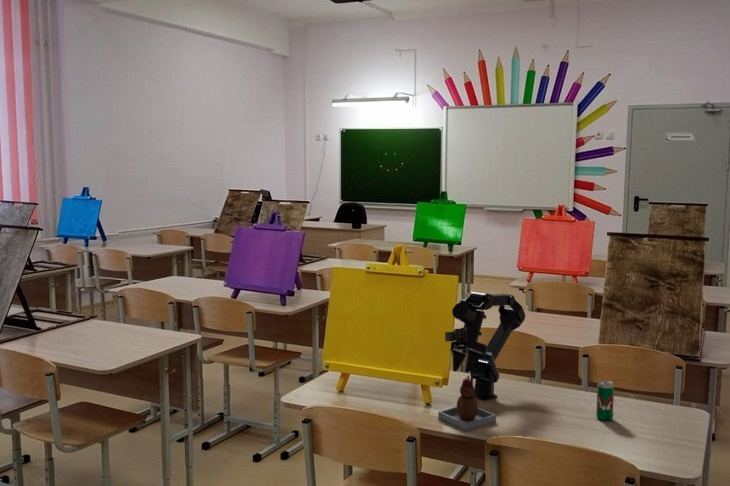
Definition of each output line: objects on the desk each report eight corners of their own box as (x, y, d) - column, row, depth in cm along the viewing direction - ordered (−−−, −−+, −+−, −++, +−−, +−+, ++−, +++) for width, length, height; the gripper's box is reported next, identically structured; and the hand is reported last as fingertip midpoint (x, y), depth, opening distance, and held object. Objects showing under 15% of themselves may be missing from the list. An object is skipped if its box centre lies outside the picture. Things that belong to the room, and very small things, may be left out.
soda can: (612, 416, 219) (614, 381, 218) (613, 422, 215) (614, 386, 213) (596, 415, 221) (597, 379, 220) (596, 420, 216) (597, 384, 215)
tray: (467, 410, 226) (467, 403, 226) (496, 422, 215) (496, 414, 215) (438, 419, 218) (438, 411, 218) (466, 431, 208) (466, 424, 208)
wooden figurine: (480, 421, 215) (481, 375, 213) (464, 423, 213) (465, 377, 211) (469, 413, 221) (469, 369, 219) (454, 416, 219) (454, 371, 217)
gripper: (440, 320, 237) (428, 363, 233) (463, 318, 219) (451, 365, 216) (467, 330, 240) (456, 373, 236) (493, 329, 222) (481, 375, 218)
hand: (460, 371), depth 226 cm, fingers open, 9 cm apart
